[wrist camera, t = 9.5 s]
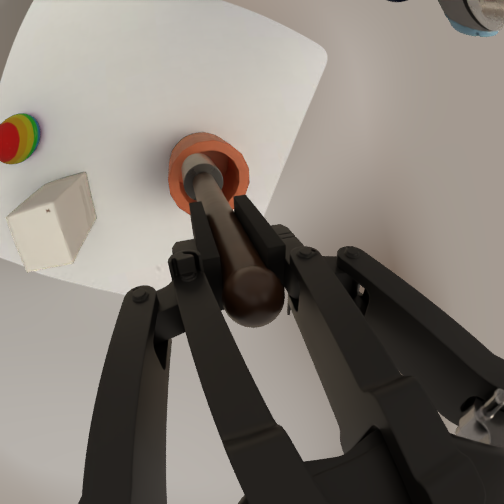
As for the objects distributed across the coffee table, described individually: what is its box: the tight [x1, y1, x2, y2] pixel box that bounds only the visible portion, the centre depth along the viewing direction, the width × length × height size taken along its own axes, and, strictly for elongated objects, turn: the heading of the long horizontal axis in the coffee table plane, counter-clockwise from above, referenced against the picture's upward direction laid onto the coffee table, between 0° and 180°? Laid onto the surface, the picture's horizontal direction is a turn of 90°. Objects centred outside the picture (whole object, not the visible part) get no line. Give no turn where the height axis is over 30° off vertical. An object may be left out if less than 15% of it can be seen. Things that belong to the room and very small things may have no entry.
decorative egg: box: [0, 114, 40, 164], centre depth 27 cm, size 8×8×10 cm
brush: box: [181, 153, 285, 328], centre depth 19 cm, size 4×4×23 cm
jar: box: [168, 132, 249, 215], centre depth 38 cm, size 10×10×12 cm
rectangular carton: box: [6, 172, 97, 273], centre depth 33 cm, size 9×9×15 cm
